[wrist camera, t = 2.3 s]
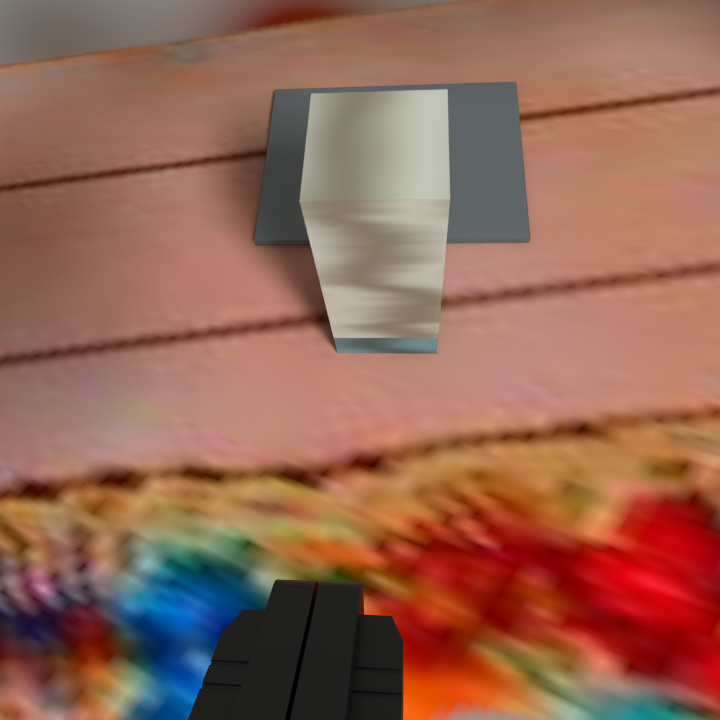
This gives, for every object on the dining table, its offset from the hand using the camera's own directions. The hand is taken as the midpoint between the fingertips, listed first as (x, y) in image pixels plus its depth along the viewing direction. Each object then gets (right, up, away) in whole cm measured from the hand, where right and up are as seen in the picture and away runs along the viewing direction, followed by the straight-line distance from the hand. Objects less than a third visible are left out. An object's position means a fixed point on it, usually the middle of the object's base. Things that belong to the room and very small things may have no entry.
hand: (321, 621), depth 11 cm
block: (+2, +8, +27) cm, 29 cm away
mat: (+3, +19, +33) cm, 38 cm away
